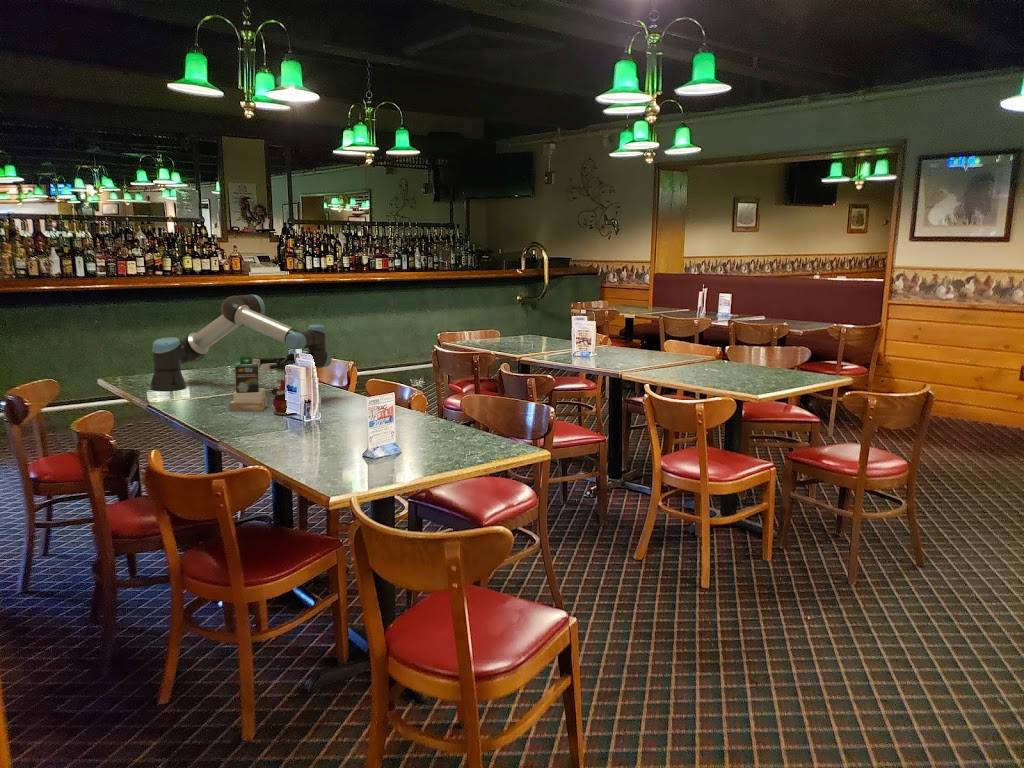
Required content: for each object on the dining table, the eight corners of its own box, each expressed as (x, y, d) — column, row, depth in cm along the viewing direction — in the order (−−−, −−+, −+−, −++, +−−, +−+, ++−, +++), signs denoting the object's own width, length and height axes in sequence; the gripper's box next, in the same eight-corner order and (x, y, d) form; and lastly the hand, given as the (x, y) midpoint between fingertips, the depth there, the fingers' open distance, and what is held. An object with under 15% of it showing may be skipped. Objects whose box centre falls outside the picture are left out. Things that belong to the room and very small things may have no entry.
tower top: (238, 397, 318) (238, 388, 317) (265, 397, 320) (264, 388, 319) (233, 402, 307) (233, 393, 306) (261, 402, 309) (261, 393, 308)
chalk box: (257, 388, 318) (257, 354, 316) (259, 392, 310) (258, 357, 307) (234, 389, 314) (234, 354, 312) (235, 392, 306) (234, 357, 304)
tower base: (236, 406, 319) (236, 397, 318) (267, 406, 321) (267, 397, 320) (229, 412, 306) (228, 403, 305) (261, 412, 308) (261, 403, 307)
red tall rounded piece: (297, 410, 311) (297, 368, 308) (299, 415, 303) (299, 372, 300) (271, 411, 308) (270, 368, 305) (272, 416, 299) (271, 372, 296)
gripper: (314, 373, 320) (269, 378, 304) (283, 366, 336) (239, 370, 321) (313, 356, 319) (268, 360, 303) (283, 349, 335) (238, 353, 320)
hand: (253, 365), depth 312 cm, fingers open, 13 cm apart
